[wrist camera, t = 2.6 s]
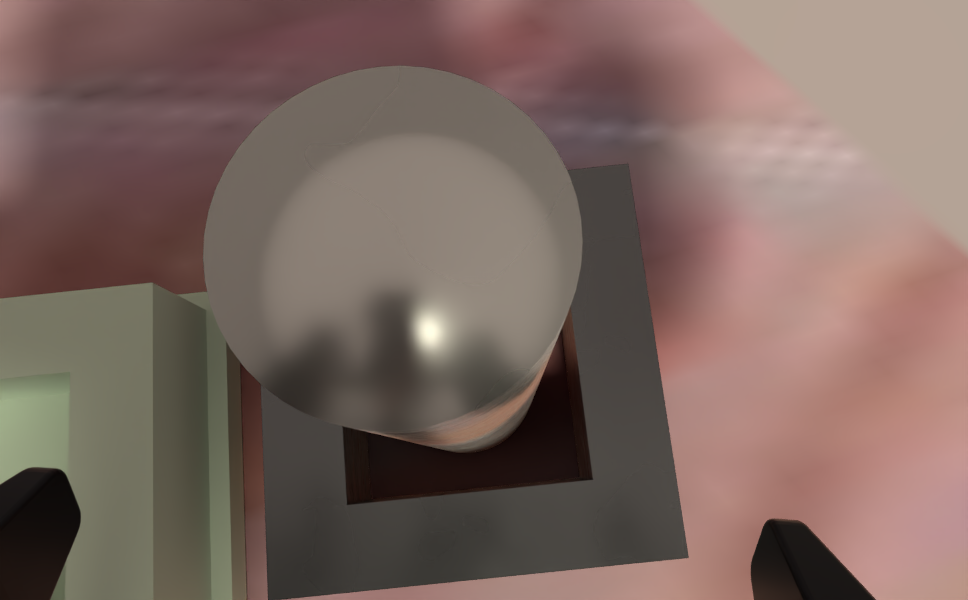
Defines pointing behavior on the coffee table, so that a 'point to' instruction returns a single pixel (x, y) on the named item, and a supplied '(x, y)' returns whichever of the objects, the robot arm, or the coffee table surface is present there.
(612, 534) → the socket
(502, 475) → the coffee table surface
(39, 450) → the container
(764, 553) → the robot arm
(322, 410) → the grey cylinder
